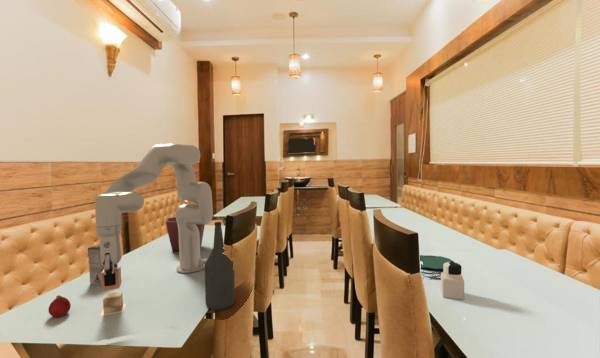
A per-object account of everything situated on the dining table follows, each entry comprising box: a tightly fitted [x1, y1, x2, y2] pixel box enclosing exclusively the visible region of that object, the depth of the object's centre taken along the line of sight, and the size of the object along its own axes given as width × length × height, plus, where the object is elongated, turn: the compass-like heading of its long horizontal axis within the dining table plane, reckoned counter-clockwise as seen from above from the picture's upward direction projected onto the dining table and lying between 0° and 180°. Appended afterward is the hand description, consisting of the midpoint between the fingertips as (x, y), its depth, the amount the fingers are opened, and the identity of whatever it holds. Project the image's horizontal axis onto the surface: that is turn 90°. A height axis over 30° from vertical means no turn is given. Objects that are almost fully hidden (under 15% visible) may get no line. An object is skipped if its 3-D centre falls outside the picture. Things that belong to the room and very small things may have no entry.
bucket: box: [165, 216, 206, 254], centre depth 186 cm, size 24×22×25 cm
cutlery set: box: [419, 254, 455, 280], centre depth 146 cm, size 20×30×2 cm, turn 163°
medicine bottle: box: [440, 261, 465, 300], centre depth 116 cm, size 7×7×12 cm
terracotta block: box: [101, 266, 122, 291], centre depth 107 cm, size 5×5×6 cm
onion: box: [48, 294, 72, 318], centre depth 104 cm, size 6×6×8 cm
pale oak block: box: [102, 291, 124, 314], centre depth 107 cm, size 5×5×5 cm
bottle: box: [203, 221, 236, 311], centre depth 112 cm, size 10×10×30 cm
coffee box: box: [87, 243, 104, 286], centre depth 137 cm, size 9×6×16 cm
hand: (111, 281), depth 107 cm, fingers closed on terracotta block, 5 cm apart
